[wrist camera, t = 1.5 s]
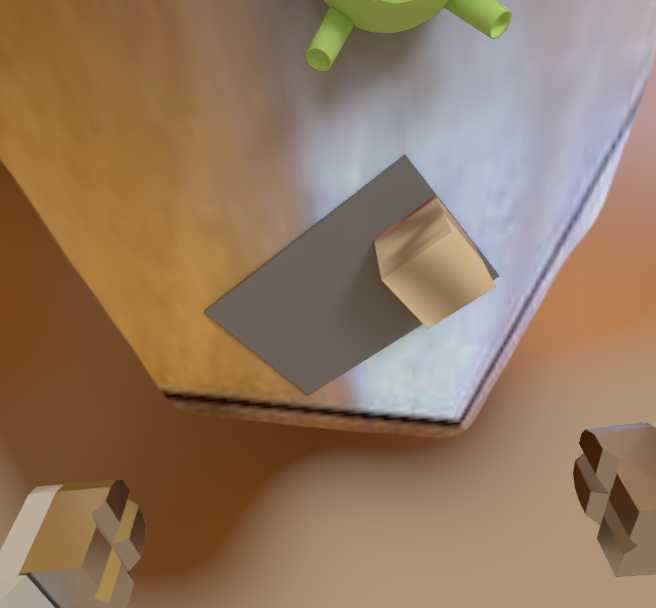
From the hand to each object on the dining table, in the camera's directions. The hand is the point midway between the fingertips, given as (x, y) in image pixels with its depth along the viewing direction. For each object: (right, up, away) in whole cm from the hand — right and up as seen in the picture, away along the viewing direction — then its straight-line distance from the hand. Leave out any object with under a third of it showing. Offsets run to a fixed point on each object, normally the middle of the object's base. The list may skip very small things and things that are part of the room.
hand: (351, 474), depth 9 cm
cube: (+8, +8, +34) cm, 35 cm away
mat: (+1, +4, +37) cm, 37 cm away
